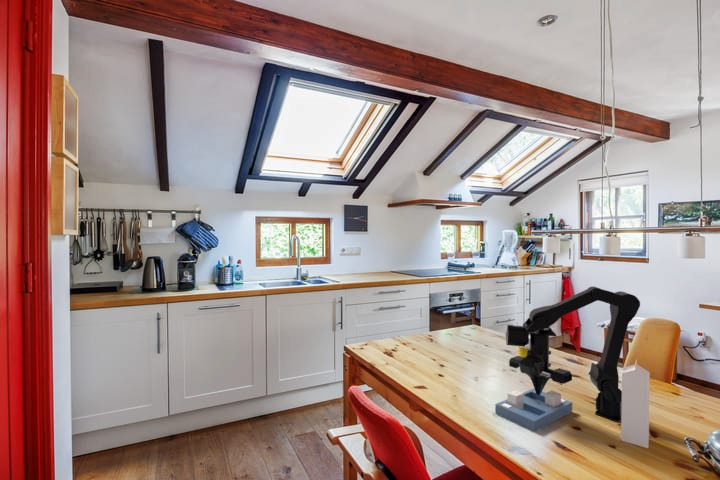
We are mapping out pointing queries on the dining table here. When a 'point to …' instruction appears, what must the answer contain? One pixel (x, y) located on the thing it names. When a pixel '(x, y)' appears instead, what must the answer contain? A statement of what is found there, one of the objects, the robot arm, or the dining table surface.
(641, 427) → the milk
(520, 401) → the tab
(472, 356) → the dining table surface
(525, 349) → the supplement bottle
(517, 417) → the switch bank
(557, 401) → the tab
